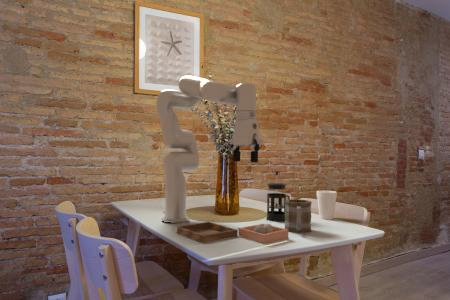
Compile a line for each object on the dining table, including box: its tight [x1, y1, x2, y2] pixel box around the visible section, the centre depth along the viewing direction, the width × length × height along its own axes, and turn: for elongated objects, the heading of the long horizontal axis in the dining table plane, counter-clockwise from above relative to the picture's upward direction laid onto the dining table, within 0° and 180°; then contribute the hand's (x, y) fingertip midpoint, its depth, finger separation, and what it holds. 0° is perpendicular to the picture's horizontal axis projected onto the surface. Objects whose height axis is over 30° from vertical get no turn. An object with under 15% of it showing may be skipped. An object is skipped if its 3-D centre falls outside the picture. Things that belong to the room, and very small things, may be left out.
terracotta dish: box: [238, 223, 289, 245], centre depth 127 cm, size 13×13×4 cm
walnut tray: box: [176, 221, 239, 244], centre depth 129 cm, size 18×16×3 cm
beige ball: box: [263, 223, 274, 234], centre depth 128 cm, size 4×4×4 cm
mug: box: [284, 198, 312, 234], centre depth 138 cm, size 16×11×12 cm
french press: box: [266, 170, 291, 223], centre depth 161 cm, size 12×9×23 cm
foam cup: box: [316, 190, 338, 221], centre depth 166 cm, size 10×9×13 cm
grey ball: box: [254, 225, 266, 234], centre depth 125 cm, size 4×4×4 cm
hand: (245, 161), depth 129 cm, fingers open, 9 cm apart
